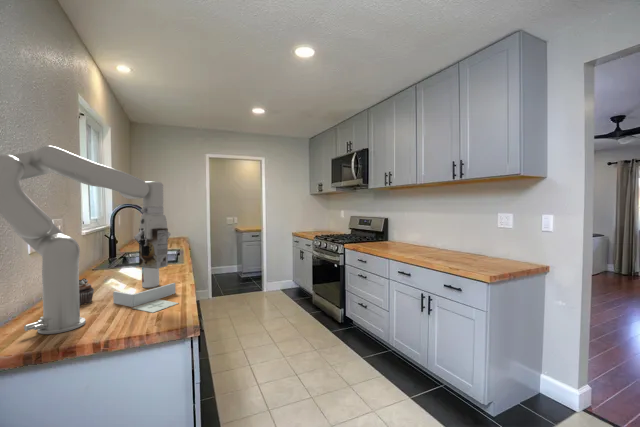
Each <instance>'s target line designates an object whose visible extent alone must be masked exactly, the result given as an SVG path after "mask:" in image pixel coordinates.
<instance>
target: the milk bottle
mask: <svg viewBox="0 0 640 427" xmlns="http://www.w3.org/2000/svg"><path fill="white" fill-rule="evenodd" d="M141 286H142V288H144V289H153V288H157V287H160V268H158V269H154V268H141Z"/></svg>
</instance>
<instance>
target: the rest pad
mask: <svg viewBox="0 0 640 427" xmlns="http://www.w3.org/2000/svg"><path fill="white" fill-rule="evenodd" d="M176 304H177V305H179V304H180V303H179V302H175V301H170V300H165V299H161V298H160V299H157V300H154V301H151V302H147V303H144V304H141V305H138V306H135V307H131V308H132V309H133V310H138V311H142V312H146V313H152V314H154V313H156V312H160V311H163V310H165V309H168V308H171V307H174V306H176Z"/></svg>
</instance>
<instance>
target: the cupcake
mask: <svg viewBox="0 0 640 427" xmlns="http://www.w3.org/2000/svg"><path fill="white" fill-rule="evenodd" d="M88 282H89V280H88V279H87V278H84V277H83V278H82V279H79V300H80V306H81V305H85V304H86V305H87V304H89V303H91V302H93V297H94V291H95V289H94V287H92V284H91V283H88Z"/></svg>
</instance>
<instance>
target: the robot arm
mask: <svg viewBox="0 0 640 427" xmlns="http://www.w3.org/2000/svg"><path fill="white" fill-rule="evenodd" d="M50 173H52V174H55V175H57V176H61V177H64V178H66V179H70V180H72V181H75V182H77V183H80V184H84V185H86V186H91V187H97V188H98V187H99V188H105V189H108V190H111V191H115V192H118V193H119V195H120V196H121V197H123V198H125V199H128V200H129V199H130V200H134V199H142V208H141V209H140V212H141V213H142V215H140V216H141V217H140V222H139V228H140V232H139V231H138V232H137V233H136V234H135V236H133V237H134V238H133V239H134V240H135V241H136V242H137V244H138V245H139V244H140V246H141V249H142V256H148V255H149V247H148V246H147V245H148V242H149V240H151V239H152V229H158V228H168V221H167V216H166V214H164V184H163V183H162V182H161V181H154V180H153V181H151V180H150V181H149V180H147V181H145V180H144V179H141V178H140V177H138V176H134V175H132V174H130V173H127V172H124V171H123V170H118V169H115V168H113V167H110V166H106V165H104V164H100V163H97V162H95V161H92V160H90V159H88V158H85V157H82V156H80V155H77V154H74V153H72V152H69V151H67V150H65V149H62V148H60V147H58V146H53V145H43V146H41V147H38V148H37V149H34V150H30V151H26V152H21V153H17V154H16V153H15V154H7V153H0V216H1V218H3V220H5V221H6V222H7V223H8V224H9V225H10V226H11V227H10V228H11V229H12V231H13V232H14V233H15V234H16V235H17V236H18V237H20V238H21V239H22V240H23V241H24V242H25V243H26V244H27V245H29V247H31V248H32V249H33V250H34V251H35V252H36V253H37V254H39V255H40V256H41V259H42V260H41V261H42V262H41V263H42V265H41V266H42V267H41V270H42V271H41V282H42V283H41V284H42V308H43V309H42V312H43V316H41V317H39V319H38V320H36V322H32V323H28V324H25V325H24V327H23V330H24V331H25V332H28V331H31V330H34V331H37V333H38V334H40V335H54V334H55V335H56V334H60V333H65V332H69V331H73V330H76V329H78V328H80V327H82V326H84V325H85V324H86V322H87V321H86V318H85V317H81V311H80V310H81V307H80V306H81V305H80V300H79V280H80V274H79V272H80V268H79V267H80V257H81V255H80V254H81V251H80V246H79V243H78V241H77V240H76V239H74V238H73V237H72V236H70V235H66V234H65V233H64V232H63V231H62V230H61V229H60V228H58V226H57V225H56V224H55V223H54V222H53V219H52V218H51V216H50V215H48V213H46V212H45V211H44V210H43V209H41V208H40V207H39V206H38V205H37V204H36V203H35V202H34V200H32V199H31V198H30V197H29V195H28V194H26V192H25V191H24V190H23V189H22V187H21V184H20V181H22V180H27V179H32V178H36V177H41V176H44V175H47V174H50ZM143 234H144V236H145V238H144V236H143ZM170 237H171V232H169V231H168V239H169V238H170ZM141 239H142V240H141Z"/></svg>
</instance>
